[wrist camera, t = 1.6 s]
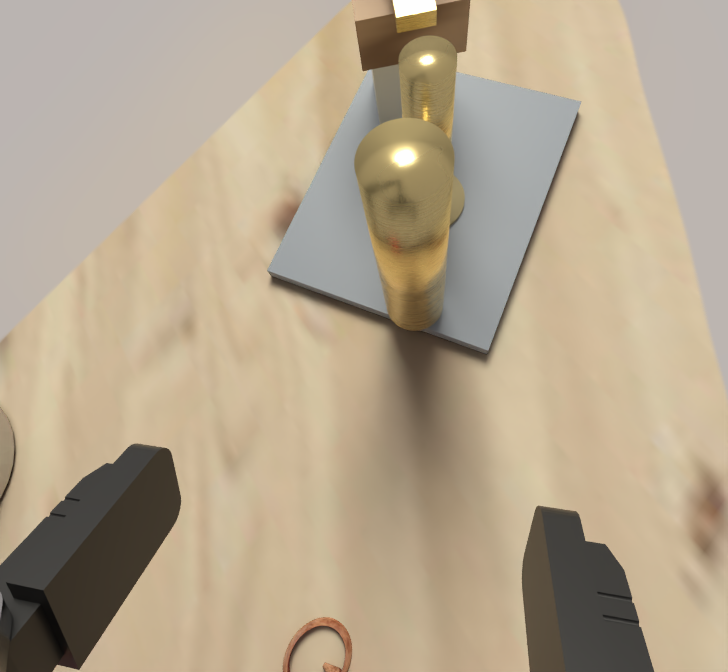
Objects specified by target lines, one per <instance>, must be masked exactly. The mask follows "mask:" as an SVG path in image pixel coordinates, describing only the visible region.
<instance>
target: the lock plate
mask: <svg viewBox="0 0 728 672" xmlns="http://www.w3.org/2000/svg"><path fill="white" fill-rule="evenodd" d="M580 104H581V102H580V101H576V100H572V99H568V98H564V97H559V96H555V95H551V94H547V93H543V92H538V91H534V90H530V89H526V88H522V87H517V86H513V85H509V84H505V83H501V82H496V81H492V80H488V79H484V78H479V77H475V76H471V75H467V74H463V73H458V72H456V83H455V98H454V113H453V129H452V146H453V149H454V155H455V160H454V174H453V187H452V200H451V213H450V226H449V239H448V252H447V264H446V277H445V290H444V303H443V310H442V313H441V315H440V317H439V319H438V320H437V321H436V322H435V323H434V324H433V325H431V326H430V327H428V328H426V329H423V330H421V331H424V332H427V333H429V334H432V335H435V336H438V337H440V338H443V339H446V340H449V341H451V342H454V343H457V344H460V345H462V346H465V347H468V348H471V349H473V350H476V351H479V352H482V353H484V354H487V352H488V350H489V347H490V345H491V342H492V339H493V337H494V334H495V331H496V329H497V326H498V323H499V321H500V318H501V315H502V313H503V310H504V307H505V305H506V302H507V299H508V297H509V294H510V291H511V289H512V286H513V283H514V281H515V278H516V275H517V273H518V270H519V267H520V265H521V262H522V259H523V256H524V254H525V251H526V248H527V246H528V243H529V240H530V238H531V235H532V232H533V230H534V227H535V224H536V222H537V219H538V216H539V214H540V211H541V208H542V206H543V203H544V200H545V198H546V195H547V192H548V190H549V187H550V184H551V182H552V179H553V176H554V174H555V171H556V168H557V166H558V163H559V160H560V158H561V155H562V152H563V150H564V147H565V144H566V142H567V139H568V136H569V134H570V131H571V128H572V126H573V123H574V120H575V117H576V115H577V112H578V109H579V107H580ZM399 118H402V104H401V90H400V76H399V64H397V65H392V66H387V67H382V68H377V69H372V70H368V72H367V74H366V76H365V78H364V80H363V82H362V84H361V86H360V88H359V90H358V92H357V94H356V96H355V98H354V100H353V101H352V103H351V105H350V107H349V109H348V111H347V113H346V115H345V117H344V119H343V121H342V123H341V125H340V127H339V129H338V131H337V133H336V135H335V137H334V139H333V141H332V143H331V145H330V147H329V149H328V151H327V153H326V155H325V157H324V159H323V161H322V163H321V165H320V167H319V169H318V171H317V173H316V175H315V177H314V179H313V181H312V183H311V185H310V187H309V189H308V191H307V193H306V195H305V197H304V199H303V201H302V203H301V205H300V207H299V209H298V211H297V213H296V214H295V216H294V218H293V220H292V222H291V224H290V226H289V228H288V230H287V232H286V234H285V236H284V238H283V240H282V242H281V244H280V246H279V248H278V250H277V252H276V254H275V256H274V258H273V260H272V262H271V264H270V266H269V268H268V270H267V271H268V272H269V274H270V275H271V276H273V277H276V278H278V279H281V280H284V281H287V282H289V283H292V284H295V285H298V286H300V287H303V288H306V289H309V290H311V291H314V292H317V293H320V294H322V295H325V296H328V297H331V298H333V299H336V300H339V301H342V302H344V303H347V304H350V305H353V306H355V307H358V308H361V309H364V310H366V311H369V312H372V313H375V314H377V315H380V316H383V317H386V318H388V319H391V318H390V316H389V315H388V312H387V308H386V303H385V299H384V295H383V290H382V286H381V282H380V277H379V273H378V269H377V264H376V260H375V256H374V251H373V247H372V243H371V238H370V234H369V230H368V225H367V221H366V217H365V212H364V208H363V203H362V199H361V195H360V190H359V186H358V182H357V177H356V173H355V168H354V159H355V154H356V151H357V148H358V146H359V144H360V142H361V141H362V140H363V138H364V137H365V136H366V135H367V134H368V133H369V132H370V131H371V130H372V129H374V128H375V127H377V126H378V125H380V124H382V123H384V122H387V121H390V120H394V119H399Z"/></svg>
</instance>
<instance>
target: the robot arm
mask: <svg viewBox="0 0 728 672" xmlns="http://www.w3.org/2000/svg"><path fill="white" fill-rule="evenodd" d="M13 459H14V439H13V432H12V429H11V426H10V423H9V420H8V418H7V416H6V415H5V413H4V412H3V410H2V409H1V407H0V498H1V496H2V494H3V492H4V490H5V487H6V485H7V483H8V481H9V477H10V474H11V470H12V466H13ZM180 506H181V495H180V491H179V486H178V481H177V477H176V472H175V467H174V463H173V458H172V454H171V452H170V450H169V449H167V448H162V447H156V446H149V445H142V444H133V445H131V446H129V447H128V448H127V449H126V450H125V451H124V452H123V454H122V455H121V456H120V457H119V458H118V459H117V460H116V461H115V462H114V463H113V464H109V463H106V464H105V465H103V466H101V467H100V468H98V469H97V470H95V471H94V472H92V473H90V474H89V475H87V476H86V477H84V478H83V479H82V480H81V481H80V482H79V483H78V484H77V485H76V486H75V487H74V488H73V489H72V490H71V491H70V492H69V493H68V494H67V496H66V497H65V500H64V501H61V502H60V503H59V504H58V505H57V506H56V507H55V508H54V509H53V510H52V511H51V512H50V516H49V517H46V518H45V519H44V520H43V521H42V522H41V523H40V524H39V525H38V526H37V527H36V528H35V529H34V530H33V531H32V532H31V533H30V534H29V536H28V537H27V538H26V539H25V540H24V541H23V542H22V543H21V544H20V545H19V546H18V547H17V548H16V549H15V550H14V551H13V552H12V553H11V554H10V556H9V557H8V558H7V559H6V560H5V561H4V562H3V563H2V564H1V565H0V672H52V671H53V670H54V668H55V667H56V665H61V666H65V667H70V668H74V669H78V670H79V669H80V668H81V666H82V665H83V663H84V662H85V660H86V659H87V657H88V656H89V654H90V652H91V651H92V649H93V648H94V646H95V645H96V643H97V642H98V640H99V639H100V637H101V636H102V634H103V633H104V631H105V630H106V628H107V627H108V625H109V623H110V622H111V620H112V619H113V617H114V616H115V614H116V613H117V611H118V610H119V608H120V607H121V605H122V604H123V602H124V601H125V599H126V597H127V596H128V594H129V593H130V591H131V590H132V588H133V587H134V585H135V584H136V582H137V581H138V579H139V578H140V576H141V575H142V573H143V572H144V570H145V568H146V567H147V565H148V564H149V562H150V561H151V559H152V558H153V556H154V555H155V553H156V552H157V550H158V549H159V547H160V546H161V544H162V543H163V541H164V539H165V538H166V536H167V535H168V533H169V532H170V530H171V529H172V527H173V526H174V524H175V522H176V520H177V517H178V515H179V511H180ZM522 590H523V601H524V612H525V623H526V634H527V645H528V656H529V667H530V672H654V670H653V666H652V663H651V660H650V656H649V653H648V649H647V646H646V643H645V639H644V636H643V633H642V629H641V627H639V619H638V616H637V612H636V609H635V606H634V603H632V595H631V592H630V589H629V585H628V582H627V579H626V575H625V572H624V569H623V568H622V567H621V565H620V564H619V562H618V561H617V560H616V558H615V557H614V556H613V554H612V553H611V551H610V550H609V549H608V547H607V546H606V545H605V544H600V543H594V542H587V541H585V537H584V533H583V529H582V524H581V520H580V517H579V514H578V513H577V512H576V511H570V510H563V509H556V508H550V507H543V506H537V507H536V510H535V513H534V517H533V521H532V525H531V529H530V533H529V537H528V541H527V545H526V549H525V554H524V559H523V567H522Z"/></svg>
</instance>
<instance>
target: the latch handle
mask: <svg viewBox="0 0 728 672" xmlns="http://www.w3.org/2000/svg"><path fill="white" fill-rule="evenodd" d="M391 1H392V6H393V12H394V17H395V23H396V28H397V33H400V32H405V31H411V30H416V29H421V28H426V27H431V26H436V20H437V9H436V4H435V0H391ZM456 67H457V52H456V49H455V47H454V46H453V45H452V44H451V43H450V42H449V41H448V40H446V39H444V38H442V37H438V36H422V37H419V38H416V39H414V40H412V41H410V42H409V43H408V44H406V45H405V46H404V48H403V49H402V51H401V52H400V55H399V76H400V90H401V104H402V118H399V119H394V120H390V121H387V122H384V123H382V124H380V125H378V126H377V127H375V128H374V129H372V130H371V131H370V132H369V133H368V134H367V135H366V136H365V137H364V138H363V140H362V141H361V142H360V144H359V146H358V148H357V151H356V154H355V159H354V168H355V173H356V177H357V182H358V186H359V190H360V195H361V199H362V203H363V208H364V212H365V217H366V221H367V225H368V230H369V234H370V238H371V243H372V247H373V251H374V256H375V260H376V264H377V269H378V273H379V277H380V282H381V286H382V290H383V295H384V299H385V303H386V308H387V312H388V315H389V316H390V318H391V320H392V321H393V322H394V323H395V324H396V325H398V326H399V327H401V328H403V329H406V330H411V331H418V330H423V329H426V328H428V327H430V326H431V325H433V324H434V323H435V322H436V321H437V320H438V319H439V317H440V315H441V313H442V310H443V303H444V290H445V277H446V264H447V252H448V239H449V226H450V213H451V200H452V187H453V174H454V160H455V155H454V149H453V146H452V129H453V113H454V98H455V83H456Z"/></svg>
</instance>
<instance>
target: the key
mask: <svg viewBox="0 0 728 672" xmlns="http://www.w3.org/2000/svg"><path fill="white" fill-rule="evenodd" d="M321 625H322V626H329V627H332V628H334V629H335V630H336V631H338V633H339V634H340V635H341V637H342V639H343V641H344V644H345V653H346V654H345V661H344V666H343V669H342V670H341V669H340V668H338V667H336V666H333V665H330V664H327V663H324V665H323V668H324V670H325V672H347V671H348V669H349V666H350V662H351V657H352V643H351V639H350V636H349V633H348V631H347V630H346V628H345V627H344V626H343V625H342V624H341V623H340V622H339V621H337V620H335V619H333V618H329V617H323V618H318V619H315V620H312V621H310V622H309V623H307V624H306V625H304V626H303V627H302V628H301V629H300V630H299V631H298V632H297V633H296V634H295V636H294V637H293V638H292V640H291V642H290V644H289V646H288V648H287V650H286V653H285V657H284V661H283V672H290V669H289V662H290V656H291V652H292V649H293V647H294V645H295V643H296V642H297V640H298V639H299V638H300V637H301V636H302V635H303V634H304V633H305V632H306V631H308V630H310V629H312V628H314V627H316V626H321Z"/></svg>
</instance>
